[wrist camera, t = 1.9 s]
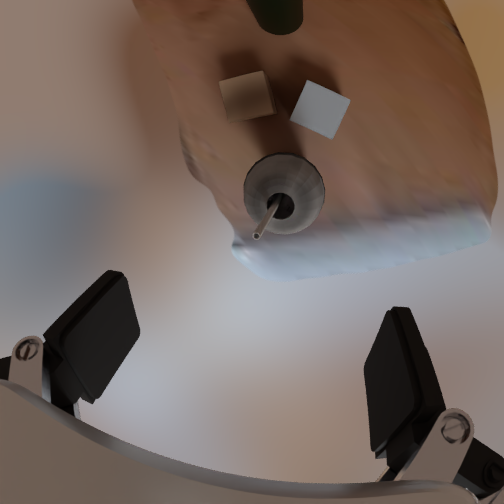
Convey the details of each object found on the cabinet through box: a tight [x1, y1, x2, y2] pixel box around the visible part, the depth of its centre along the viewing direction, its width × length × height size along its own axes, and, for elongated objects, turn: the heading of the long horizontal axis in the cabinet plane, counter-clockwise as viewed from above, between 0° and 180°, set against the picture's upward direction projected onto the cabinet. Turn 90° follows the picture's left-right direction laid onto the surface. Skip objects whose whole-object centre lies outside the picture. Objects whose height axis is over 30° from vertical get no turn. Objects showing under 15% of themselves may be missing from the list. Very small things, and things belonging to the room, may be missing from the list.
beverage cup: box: [244, 152, 325, 240], centre depth 25 cm, size 7×7×20 cm
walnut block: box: [219, 71, 277, 123], centre depth 29 cm, size 5×5×5 cm
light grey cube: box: [290, 80, 351, 140], centre depth 28 cm, size 5×5×5 cm
